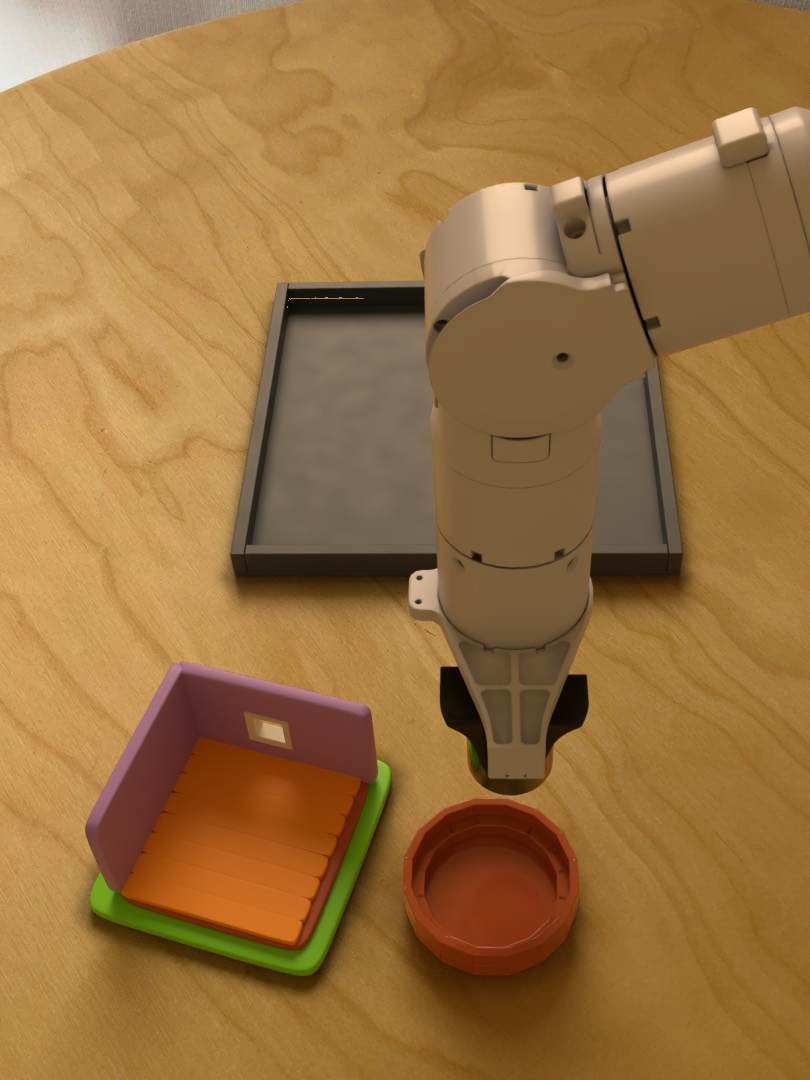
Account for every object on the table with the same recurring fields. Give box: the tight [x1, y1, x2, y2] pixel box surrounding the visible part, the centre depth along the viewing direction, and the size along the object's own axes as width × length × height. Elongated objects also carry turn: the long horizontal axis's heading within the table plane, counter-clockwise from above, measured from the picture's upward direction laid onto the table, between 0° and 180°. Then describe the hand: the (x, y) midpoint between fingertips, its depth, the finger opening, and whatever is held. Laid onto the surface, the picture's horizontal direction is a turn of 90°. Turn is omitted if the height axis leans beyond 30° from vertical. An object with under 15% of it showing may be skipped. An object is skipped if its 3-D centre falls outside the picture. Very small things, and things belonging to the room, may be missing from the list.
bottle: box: [466, 737, 555, 797], centre depth 56 cm, size 4×4×9 cm
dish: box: [402, 797, 580, 976], centre depth 62 cm, size 8×8×2 cm
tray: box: [229, 280, 684, 577], centre depth 85 cm, size 26×26×2 cm
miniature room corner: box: [84, 661, 393, 977], centre depth 63 cm, size 12×12×7 cm
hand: (510, 727), depth 58 cm, fingers closed on bottle, 4 cm apart
